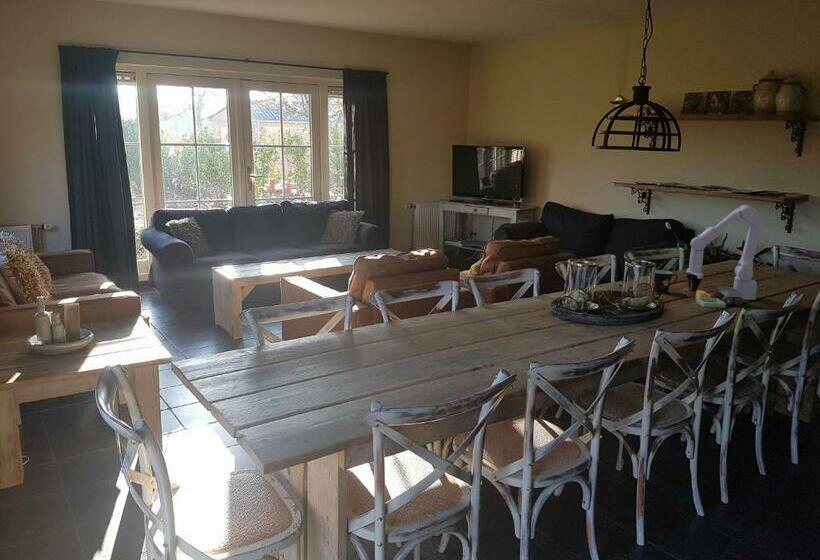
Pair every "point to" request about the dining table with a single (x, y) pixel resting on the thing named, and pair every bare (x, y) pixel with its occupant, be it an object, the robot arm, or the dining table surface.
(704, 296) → the block
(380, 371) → the dining table surface
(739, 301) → the trolley
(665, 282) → the coffee mug
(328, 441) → the dining table surface
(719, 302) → the tray
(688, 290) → the pin socket
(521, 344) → the dining table surface
